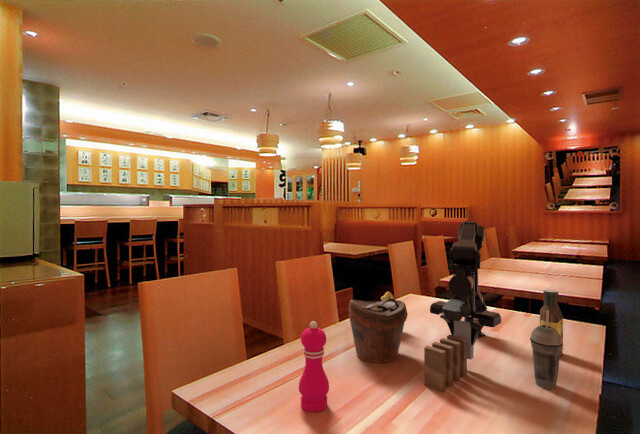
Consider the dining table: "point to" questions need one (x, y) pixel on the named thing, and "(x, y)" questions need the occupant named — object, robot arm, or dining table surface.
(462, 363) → the domino
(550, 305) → the sauce bottle
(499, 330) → the dining table surface
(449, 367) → the domino
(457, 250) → the robot arm
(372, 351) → the brown wooden tapered container
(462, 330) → the domino
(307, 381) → the pepper mill
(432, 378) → the domino
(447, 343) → the domino
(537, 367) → the beverage cup
